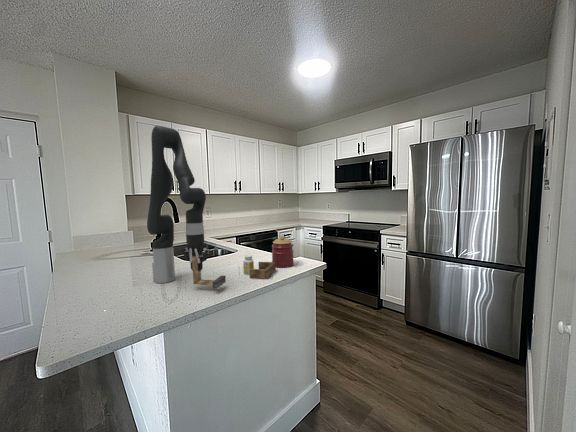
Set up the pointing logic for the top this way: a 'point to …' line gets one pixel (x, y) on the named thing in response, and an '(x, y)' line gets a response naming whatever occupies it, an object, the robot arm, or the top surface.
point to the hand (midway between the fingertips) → (196, 270)
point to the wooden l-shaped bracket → (199, 281)
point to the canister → (282, 252)
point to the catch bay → (263, 270)
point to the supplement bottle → (248, 264)
